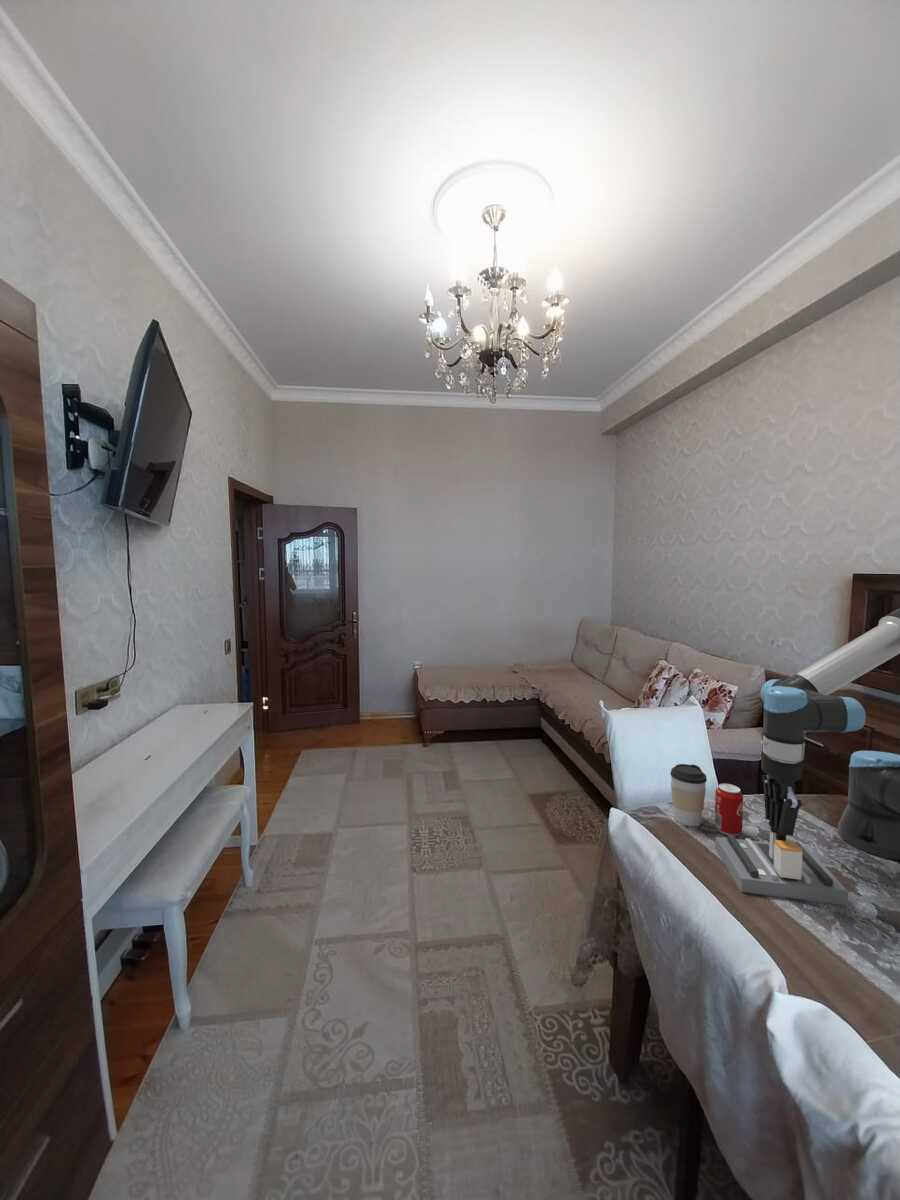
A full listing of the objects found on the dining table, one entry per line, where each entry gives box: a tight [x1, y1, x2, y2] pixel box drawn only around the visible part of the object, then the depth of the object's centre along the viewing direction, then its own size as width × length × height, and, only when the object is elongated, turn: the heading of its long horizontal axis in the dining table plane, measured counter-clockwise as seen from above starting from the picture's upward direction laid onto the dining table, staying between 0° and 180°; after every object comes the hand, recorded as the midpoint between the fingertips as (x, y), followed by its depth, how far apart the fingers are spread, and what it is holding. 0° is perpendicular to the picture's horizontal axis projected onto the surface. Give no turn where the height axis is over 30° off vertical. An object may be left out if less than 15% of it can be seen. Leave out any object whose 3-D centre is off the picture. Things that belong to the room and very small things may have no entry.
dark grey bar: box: [791, 841, 833, 887], centre depth 104 cm, size 2×14×4 cm, turn 168°
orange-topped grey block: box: [774, 840, 802, 880], centre depth 100 cm, size 4×3×7 cm
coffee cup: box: [669, 763, 708, 827], centre depth 129 cm, size 9×9×15 cm
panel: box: [714, 836, 849, 906], centre depth 106 cm, size 20×16×4 cm
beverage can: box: [714, 783, 744, 837], centre depth 123 cm, size 6×6×12 cm
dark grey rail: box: [726, 835, 759, 878], centre depth 107 cm, size 2×14×4 cm, turn 168°
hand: (777, 857), depth 105 cm, fingers closed
